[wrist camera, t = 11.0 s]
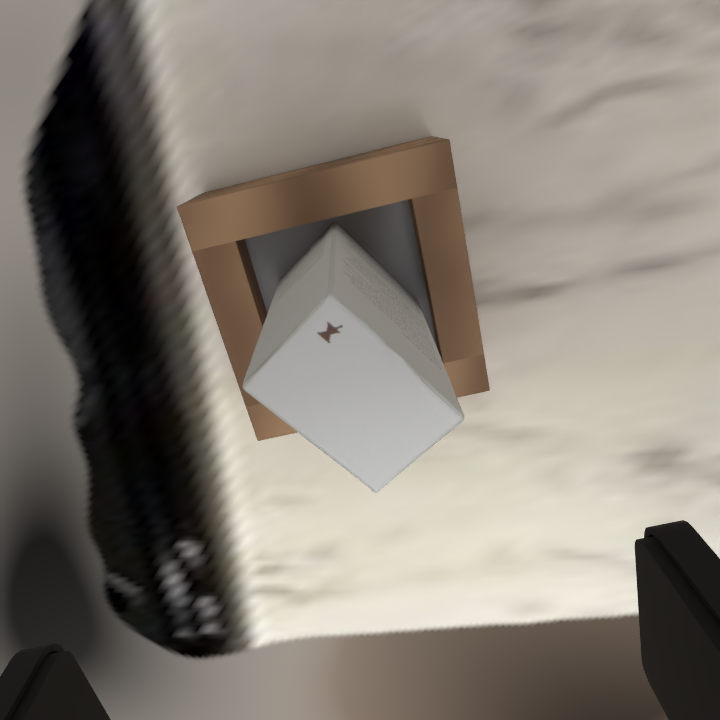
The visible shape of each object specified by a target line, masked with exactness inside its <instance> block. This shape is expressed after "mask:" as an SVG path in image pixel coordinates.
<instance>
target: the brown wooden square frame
mask: <svg viewBox="0 0 720 720" xmlns="http://www.w3.org/2000/svg"><path fill="white" fill-rule="evenodd" d="M177 209H178V212H179V214H180V217H181V220H182V223H183V226H184V229H185V232H186V235H187V238H188V240H189V243H190V246H191V249H192V252H193V255H194V258H195V261H196V264H197V266H198V269H199V272H200V275H201V278H202V281H203V284H204V287H205V290H206V292H207V295H208V298H209V301H210V304H211V307H212V310H213V313H214V316H215V318H216V321H217V324H218V327H219V330H220V333H221V336H222V339H223V342H224V344H225V347H226V350H227V353H228V356H229V359H230V362H231V365H232V368H233V370H234V373H235V376H236V379H237V382H238V385H239V388H240V391H241V394H242V397H243V399H244V402H245V405H246V408H247V411H248V414H249V417H250V420H251V423H252V425H253V428H254V431H255V434H256V437H257V440H258V441H260V440H265V439H269V438H274V437H278V436H283V435H287V434H292V433H297V431H296V430H294V429H293V428H292V427H291V426H289V425H288V424H287V423H285V422H284V421H283V420H282V419H280V418H279V417H278V416H276V415H275V414H274V413H273V412H271V411H270V410H269V409H268V408H266V407H265V406H264V405H263V404H261V403H260V402H259V401H257V400H256V399H255V398H254V397H252V396H251V395H250V394H249V393H247V392H246V391H245V390H244V389H243V381H244V378H245V375H246V373H247V370H248V367H249V365H250V362H251V359H252V356H253V353H254V350H255V347H256V345H257V342H258V339H259V336H260V334H261V331H262V328H263V325H264V322H265V319H266V317H267V314H268V311H269V308H270V305H271V303H272V300H273V297H274V294H275V292H276V289H277V286H278V283H279V281H280V280H281V279H282V278H283V277H284V276H285V275H286V274H287V273H288V272H289V271H290V270H291V268H292V267H293V266H294V265H295V264H296V263H297V262H298V261H299V260H300V259H301V258H302V256H303V255H304V254H305V253H306V252H307V251H308V250H309V249H310V247H311V246H312V245H313V244H314V243H315V242H316V241H317V240H318V239H319V238H320V237H321V236H322V235H323V234H324V233H325V232H326V231H327V230H328V229H329V228H330V227H331V225H332V224H333V223H337V224H338V225H339V226H340V227H341V228H342V229H343V230H344V231H345V232H346V233H347V234H348V235H349V236H350V237H351V238H352V239H354V240H355V241H356V242H357V243H358V244H359V245H360V246H361V247H362V248H363V249H364V250H365V251H366V252H367V253H368V254H369V255H370V256H371V257H372V258H373V259H374V260H375V261H376V262H378V263H379V264H380V265H381V266H382V267H383V268H384V269H385V270H386V271H387V272H388V273H389V274H390V275H391V276H392V277H393V278H394V279H395V280H396V281H397V282H398V283H399V284H400V285H401V286H402V287H403V288H405V289H406V290H407V291H408V292H409V293H410V294H411V295H412V296H413V297H414V298H415V299H416V300H417V301H418V302H419V304H420V307H421V309H422V312H423V314H424V317H425V319H426V322H427V325H428V327H429V329H430V332H431V334H432V337H433V339H434V342H435V344H436V347H437V349H438V352H439V354H440V357H441V359H442V362H443V364H444V367H445V369H446V372H447V374H448V377H449V379H450V382H451V384H452V387H453V389H454V392H455V395H456V397H462V396H466V395H471V394H476V393H480V392H485V391H489V390H490V389H489V383H488V377H487V371H486V364H485V358H484V352H483V346H482V339H481V333H480V327H479V321H478V315H477V308H476V302H475V296H474V290H473V284H472V277H471V271H470V265H469V259H468V253H467V246H466V240H465V234H464V228H463V222H462V215H461V209H460V203H459V197H458V191H457V184H456V178H455V172H454V166H453V160H452V153H451V147H450V141H449V139H443V138H438V137H428V138H424V139H419V140H415V141H411V142H407V143H403V144H399V145H395V146H391V147H387V148H383V149H379V150H375V151H371V152H367V153H363V154H359V155H355V156H351V157H347V158H343V159H339V160H335V161H331V162H327V163H322V164H318V165H314V166H310V167H306V168H302V169H298V170H294V171H290V172H286V173H282V174H278V175H274V176H270V177H266V178H262V179H258V180H254V181H250V182H246V183H242V184H238V185H234V186H230V187H225V188H221V189H217V190H213V191H209V192H205V193H202V194H201V195H199V196H197V197H195V198H193V199H191V200H189V201H187V202H185V203H183V204H181V205H179V206H177Z"/></svg>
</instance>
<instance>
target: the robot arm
mask: <svg viewBox="0 0 720 720" xmlns="http://www.w3.org/2000/svg"><path fill="white" fill-rule="evenodd" d="M635 557H636V574H637V590H638V607H639V623H640V638H641V639H640V640H641V656H642V663H643V667H644V671H645V673H646V676H647V679H648V681H649V683H650V685H651V687H652V689H653V691H654V693H655V695H656V697H657V699H658V700H659V702H660V704H661V706H662V708H663V709H664V712H665V713H666V715H667V717H668V719H669V720H720V559H719V557H718V556H717V555H716V554H715V553H714V552H713V550H712V549H711V548H710V547H709V546H708V545H707V543H706V542H705V541H704V540H703V539H702V537H701V536H700V535H699V534H698V533H697V532H696V530H695V529H694V528H693V527H692V526H691V525H690V524H689V523H688V522H686V521H684V520H683V521H677V522H672V523H667V524H662V525H657V526H652V527H648V528H646V529H645V533H644V538H642V539H637V540H636V541H635ZM0 720H110V718H109V716H108V714H107V713H106V711H105V709H104V708H103V706H102V704H101V702H100V701H99V699H98V697H97V696H96V694H95V692H94V691H93V689H92V687H91V685H90V684H89V682H88V680H87V678H86V677H85V675H84V673H83V672H82V670H81V668H80V666H79V665H78V663H77V661H76V660H75V658H74V656H73V655H72V654H71V652H69V651H64V649H63V648H62V647H61V646H60V645H58V644H50V645H45V646H40V647H35V648H30V649H25V650H21V651H19V652H18V653H16V654H15V655H14V656H13V658H12V659H11V660H10V662H9V664H8V665H7V667H6V668H5V670H4V672H3V673H2V675H1V676H0Z"/></svg>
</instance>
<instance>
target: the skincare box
mask: <svg viewBox="0 0 720 720" xmlns="http://www.w3.org/2000/svg"><path fill="white" fill-rule="evenodd" d="M243 389H244V390H245V391H246V392H247V393H249V394H250V395H251V396H252V397H254V398H255V399H256V400H257V401H259V402H260V403H261V404H263V405H264V406H265V407H266V408H268V409H269V410H270V411H271V412H273V413H274V414H275V415H276V416H278V417H279V418H280V419H282V420H283V421H284V422H285V423H287V424H288V425H289V426H291V427H292V428H293V429H294V430H296V431H297V432H298V433H300V434H301V435H302V436H303V437H305V438H306V439H307V440H309V441H310V442H311V443H313V444H314V445H315V446H317V447H318V448H319V449H320V450H322V451H323V452H324V453H326V454H327V455H328V456H330V457H331V458H332V459H333V460H335V461H336V462H337V463H339V464H340V465H341V466H342V467H344V468H345V469H346V470H348V471H349V472H350V473H351V474H353V475H354V476H355V477H356V478H358V479H359V480H360V481H362V482H363V483H364V484H365V485H367V486H368V487H369V488H370V489H371V490H372V491H374V492H375V493H376V492H378V491H380V490H381V489H382V488H383V487H384V486H385V485H386V484H387V483H389V482H390V481H391V480H392V479H393V478H394V477H396V476H397V475H398V474H399V473H401V472H402V471H403V470H404V469H405V468H407V467H408V466H409V465H410V464H411V463H413V462H414V461H415V460H416V459H417V458H419V457H420V456H421V455H422V454H423V453H425V452H426V451H427V450H428V449H429V448H430V447H432V446H433V445H434V444H435V443H436V442H438V441H439V440H440V439H441V438H442V437H444V436H445V435H446V434H447V433H448V432H450V431H451V430H452V429H453V428H454V427H456V426H457V425H458V424H459V423H461V422H462V421H463V419H464V414H463V412H462V410H461V407H460V405H459V402H458V400H457V397H456V395H455V392H454V389H453V387H452V384H451V382H450V379H449V377H448V374H447V372H446V369H445V367H444V364H443V362H442V359H441V357H440V354H439V352H438V349H437V347H436V344H435V342H434V339H433V337H432V334H431V332H430V329H429V327H428V325H427V322H426V319H425V317H424V314H423V312H422V309H421V307H420V304H419V302H418V301H417V300H416V299H415V298H414V297H413V296H412V295H411V294H410V293H409V292H408V291H407V290H406V289H405V288H403V287H402V286H401V285H400V284H399V283H398V282H397V281H396V280H395V279H394V278H393V277H392V276H391V275H390V274H389V273H388V272H387V271H386V270H385V269H384V268H383V267H382V266H381V265H380V264H379V263H378V262H376V261H375V260H374V259H373V258H372V257H371V256H370V255H369V254H368V253H367V252H366V251H365V250H364V249H363V248H362V247H361V246H360V245H359V244H358V243H357V242H356V241H355V240H354V239H352V238H351V237H350V236H349V235H348V234H347V233H346V232H345V231H344V230H343V229H342V228H341V227H340V226H339V225H338V224H337V223H333V224H332V225H331V227H330V228H329V229H328V230H327V231H326V232H325V233H324V234H323V235H322V236H321V237H320V238H319V239H318V240H317V241H316V242H315V243H314V244H313V245H312V246H311V247H310V249H309V250H308V251H307V252H306V253H305V254H304V255H303V256H302V258H301V259H300V260H299V261H298V262H297V263H296V264H295V265H294V266H293V267H292V268H291V270H290V271H289V272H288V273H287V274H286V275H285V276H284V277H283V278H282V279H281V280H280V281H279V283H278V286H277V289H276V292H275V294H274V297H273V300H272V303H271V305H270V308H269V311H268V314H267V317H266V319H265V322H264V325H263V328H262V331H261V334H260V336H259V339H258V342H257V345H256V347H255V350H254V353H253V356H252V359H251V362H250V365H249V367H248V370H247V373H246V375H245V378H244V381H243Z"/></svg>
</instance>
